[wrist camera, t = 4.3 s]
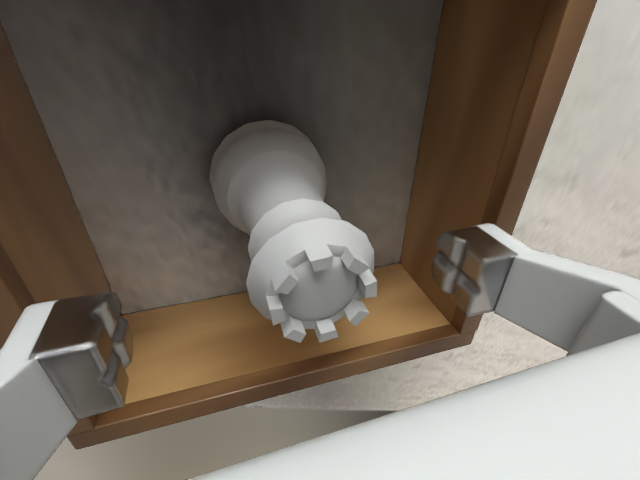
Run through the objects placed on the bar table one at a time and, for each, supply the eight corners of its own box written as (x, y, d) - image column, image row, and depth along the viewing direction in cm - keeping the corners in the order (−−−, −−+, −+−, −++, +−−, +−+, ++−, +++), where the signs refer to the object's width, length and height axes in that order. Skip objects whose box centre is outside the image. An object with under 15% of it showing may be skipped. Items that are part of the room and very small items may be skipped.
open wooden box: (468, -30, 12) (618, -55, 8) (410, 272, 20) (472, 344, 15) (-74, -60, 8) (-363, -143, 4) (107, 331, 16) (73, 451, 11)
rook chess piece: (263, 239, 16) (311, 392, 9) (183, 172, 13) (172, 321, 7) (338, 173, 15) (444, 288, 9) (268, 90, 13) (347, 166, 6)
